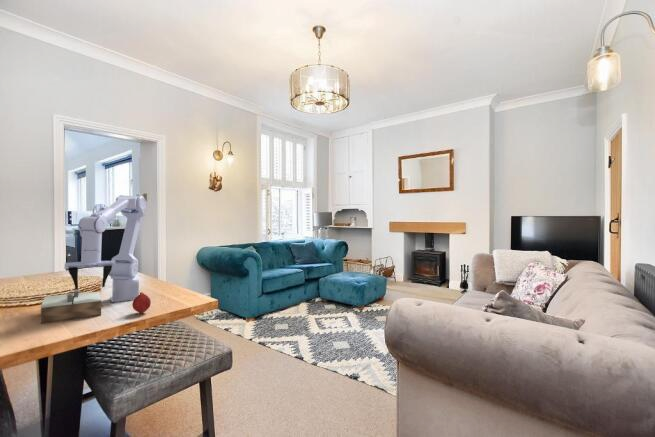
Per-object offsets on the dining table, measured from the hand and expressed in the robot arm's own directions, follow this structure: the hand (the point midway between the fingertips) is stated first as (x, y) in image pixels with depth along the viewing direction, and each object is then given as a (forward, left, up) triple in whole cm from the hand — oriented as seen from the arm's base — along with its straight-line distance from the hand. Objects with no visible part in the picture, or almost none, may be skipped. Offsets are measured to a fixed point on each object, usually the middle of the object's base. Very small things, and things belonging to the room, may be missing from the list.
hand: (90, 287), depth 114 cm
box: (+5, -3, -10) cm, 11 cm away
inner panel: (+1, -3, -4) cm, 5 cm away
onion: (-15, +8, -10) cm, 20 cm away
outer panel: (+9, -3, -4) cm, 10 cm away
